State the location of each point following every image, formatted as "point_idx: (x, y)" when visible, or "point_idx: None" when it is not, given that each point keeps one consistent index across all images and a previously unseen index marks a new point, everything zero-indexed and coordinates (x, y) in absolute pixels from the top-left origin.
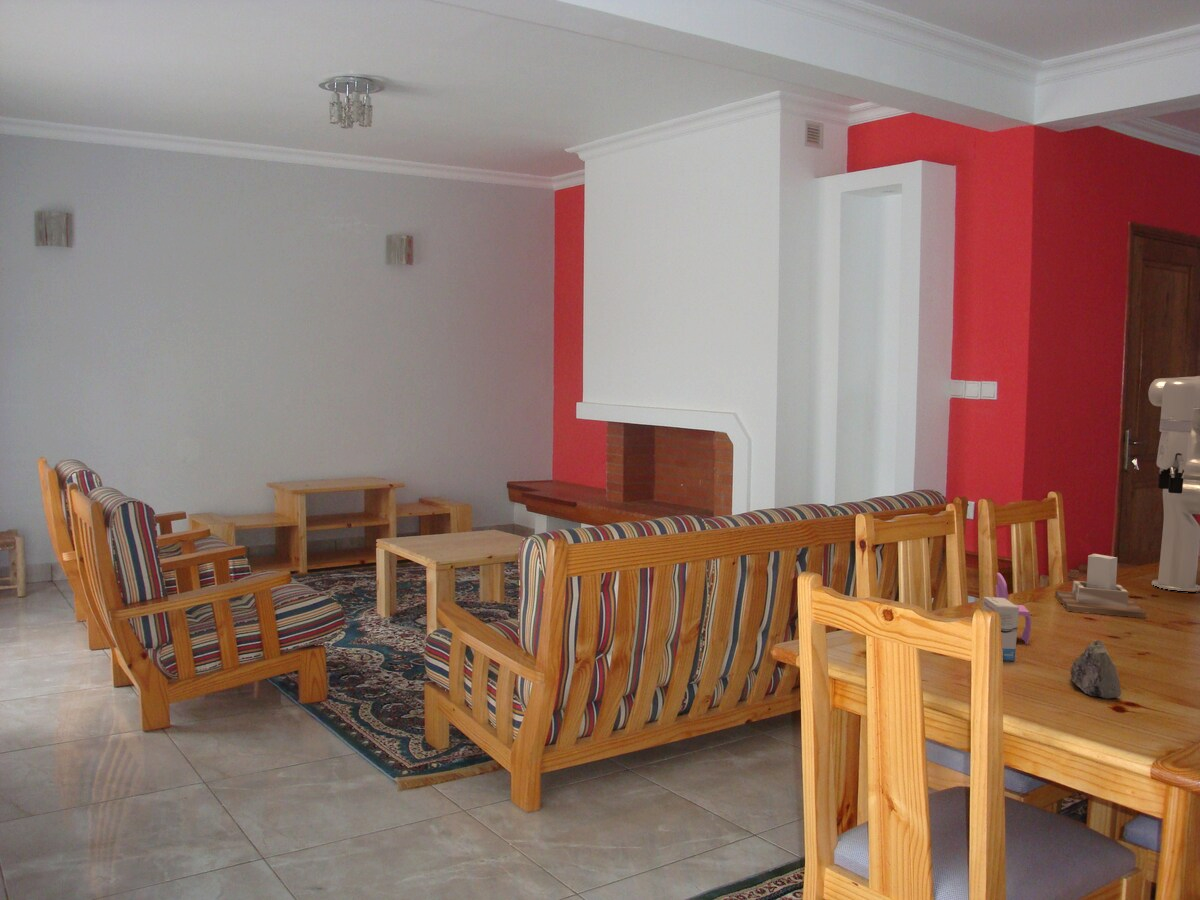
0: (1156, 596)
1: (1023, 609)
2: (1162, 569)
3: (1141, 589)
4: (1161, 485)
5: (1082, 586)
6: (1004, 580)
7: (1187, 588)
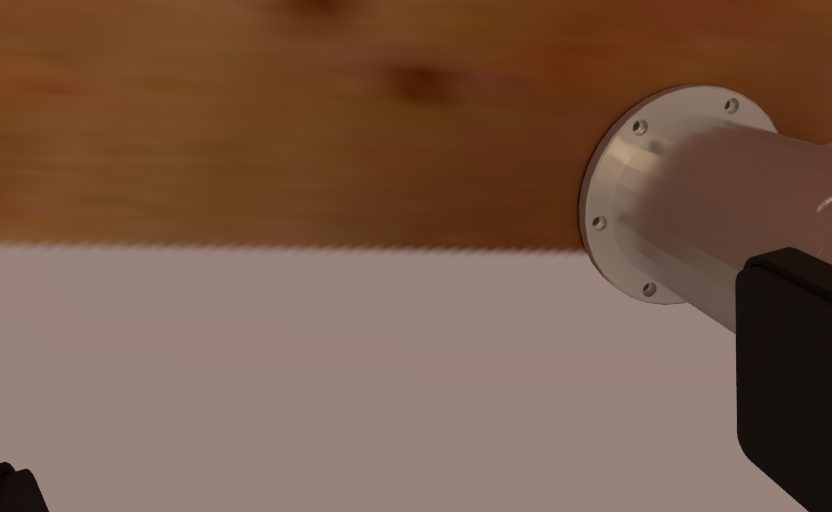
0: (407, 94)
1: None
2: (707, 144)
3: (558, 25)
4: (774, 321)
5: None
6: None
7: (605, 246)
